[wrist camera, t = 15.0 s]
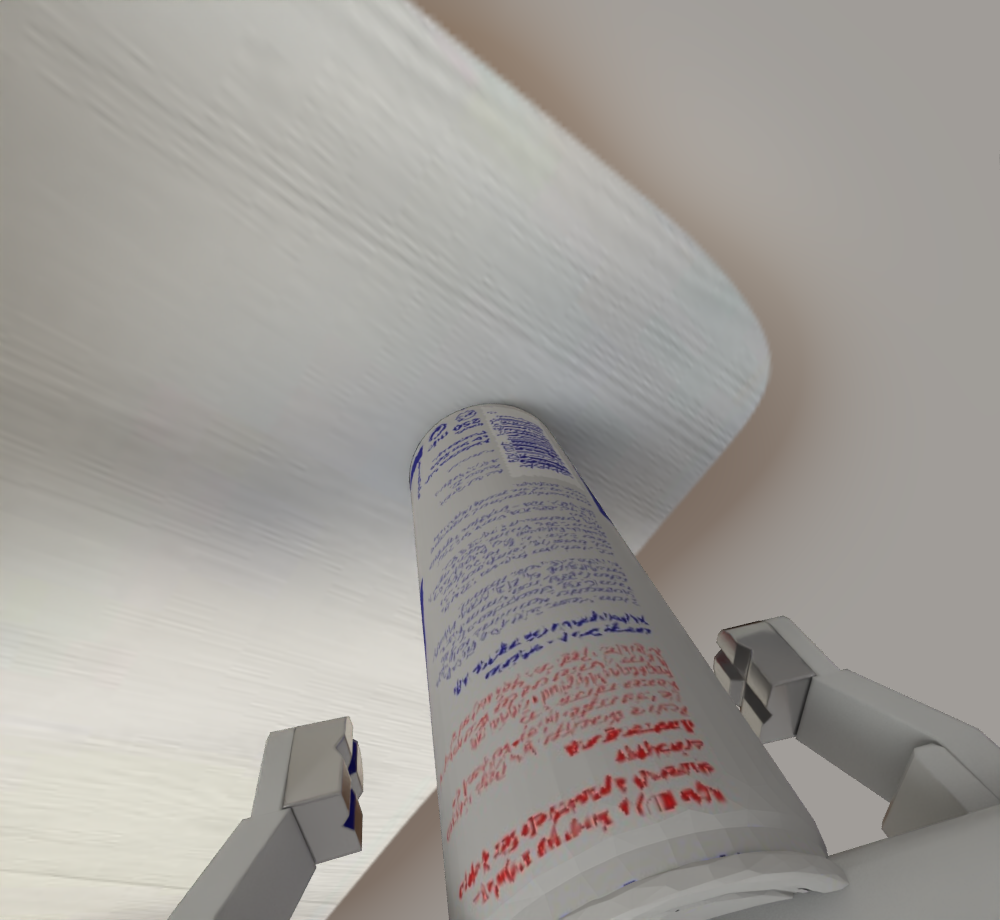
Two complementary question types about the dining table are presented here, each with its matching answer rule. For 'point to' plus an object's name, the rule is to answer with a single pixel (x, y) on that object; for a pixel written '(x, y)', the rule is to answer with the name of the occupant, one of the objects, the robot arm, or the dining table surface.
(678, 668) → the beverage can
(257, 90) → the dining table surface
